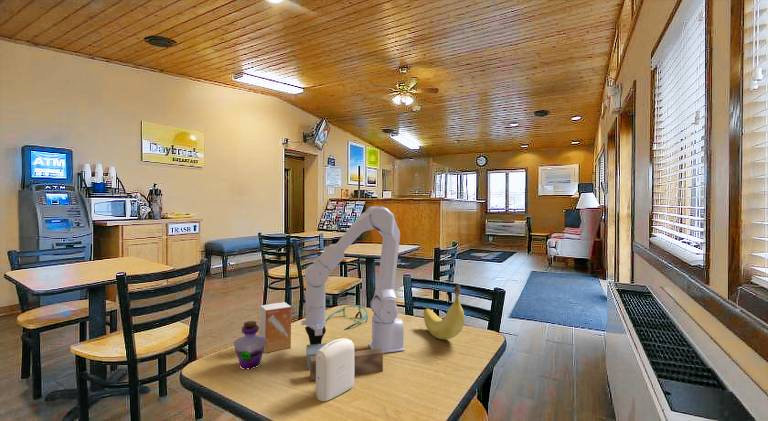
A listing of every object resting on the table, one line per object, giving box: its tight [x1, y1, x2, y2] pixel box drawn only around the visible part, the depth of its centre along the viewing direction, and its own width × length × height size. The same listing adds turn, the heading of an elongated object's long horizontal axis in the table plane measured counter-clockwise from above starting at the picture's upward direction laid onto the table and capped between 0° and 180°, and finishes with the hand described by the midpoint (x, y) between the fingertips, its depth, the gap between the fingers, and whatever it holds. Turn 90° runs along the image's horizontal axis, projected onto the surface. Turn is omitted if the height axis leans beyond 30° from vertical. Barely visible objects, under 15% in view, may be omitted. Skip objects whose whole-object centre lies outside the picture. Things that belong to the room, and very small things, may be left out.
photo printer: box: [315, 338, 355, 402], centre depth 90 cm, size 10×4×12 cm, turn 140°
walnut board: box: [309, 349, 384, 382], centre depth 100 cm, size 19×3×5 cm, turn 108°
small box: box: [259, 301, 292, 353], centre depth 116 cm, size 8×6×13 cm
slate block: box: [305, 342, 327, 370], centre depth 106 cm, size 6×7×4 cm
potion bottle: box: [233, 320, 267, 370], centre depth 104 cm, size 9×9×12 cm
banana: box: [422, 284, 465, 340], centre depth 126 cm, size 23×6×20 cm, turn 22°
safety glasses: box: [325, 304, 369, 331], centre depth 142 cm, size 14×15×5 cm
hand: (315, 351), depth 111 cm, fingers closed
